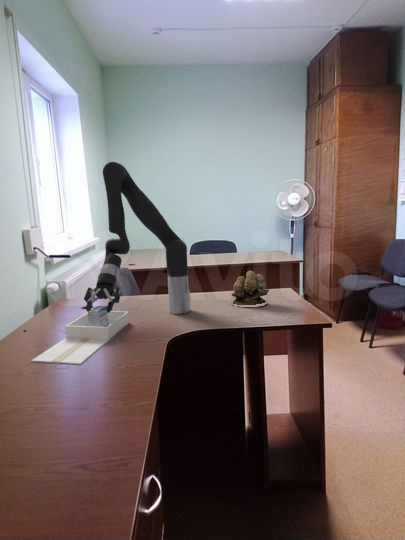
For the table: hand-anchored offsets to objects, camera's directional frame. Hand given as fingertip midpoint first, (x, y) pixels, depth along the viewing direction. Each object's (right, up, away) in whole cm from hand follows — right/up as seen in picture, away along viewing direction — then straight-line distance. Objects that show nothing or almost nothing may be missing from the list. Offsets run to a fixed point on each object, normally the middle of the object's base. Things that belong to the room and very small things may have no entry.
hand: (98, 311), depth 131 cm
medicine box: (0, -8, +2) cm, 8 cm away
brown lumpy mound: (+64, -1, +31) cm, 72 cm away
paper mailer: (-2, -10, -7) cm, 12 cm away
